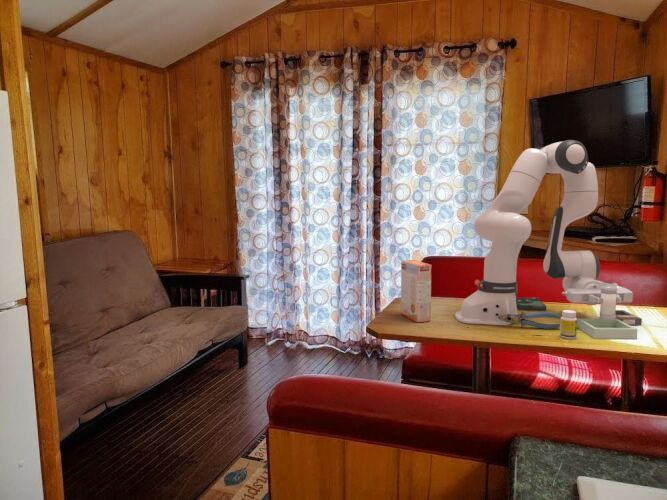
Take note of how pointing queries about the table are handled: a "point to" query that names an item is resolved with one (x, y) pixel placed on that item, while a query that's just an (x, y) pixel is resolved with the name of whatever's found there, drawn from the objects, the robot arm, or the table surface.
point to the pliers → (517, 318)
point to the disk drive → (530, 304)
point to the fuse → (608, 303)
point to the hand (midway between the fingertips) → (609, 300)
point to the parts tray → (606, 329)
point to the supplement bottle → (568, 324)
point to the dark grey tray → (628, 318)
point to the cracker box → (416, 290)
